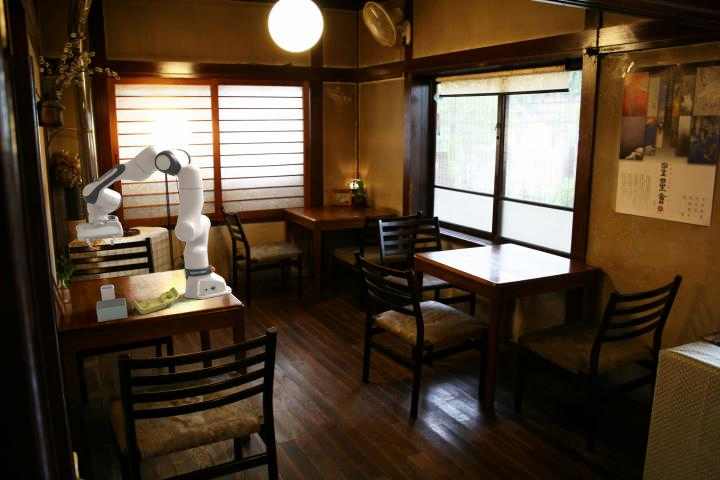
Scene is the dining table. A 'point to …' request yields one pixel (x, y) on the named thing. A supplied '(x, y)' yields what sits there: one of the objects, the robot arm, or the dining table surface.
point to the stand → (111, 309)
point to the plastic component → (156, 302)
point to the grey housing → (107, 292)
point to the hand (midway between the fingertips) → (101, 245)
